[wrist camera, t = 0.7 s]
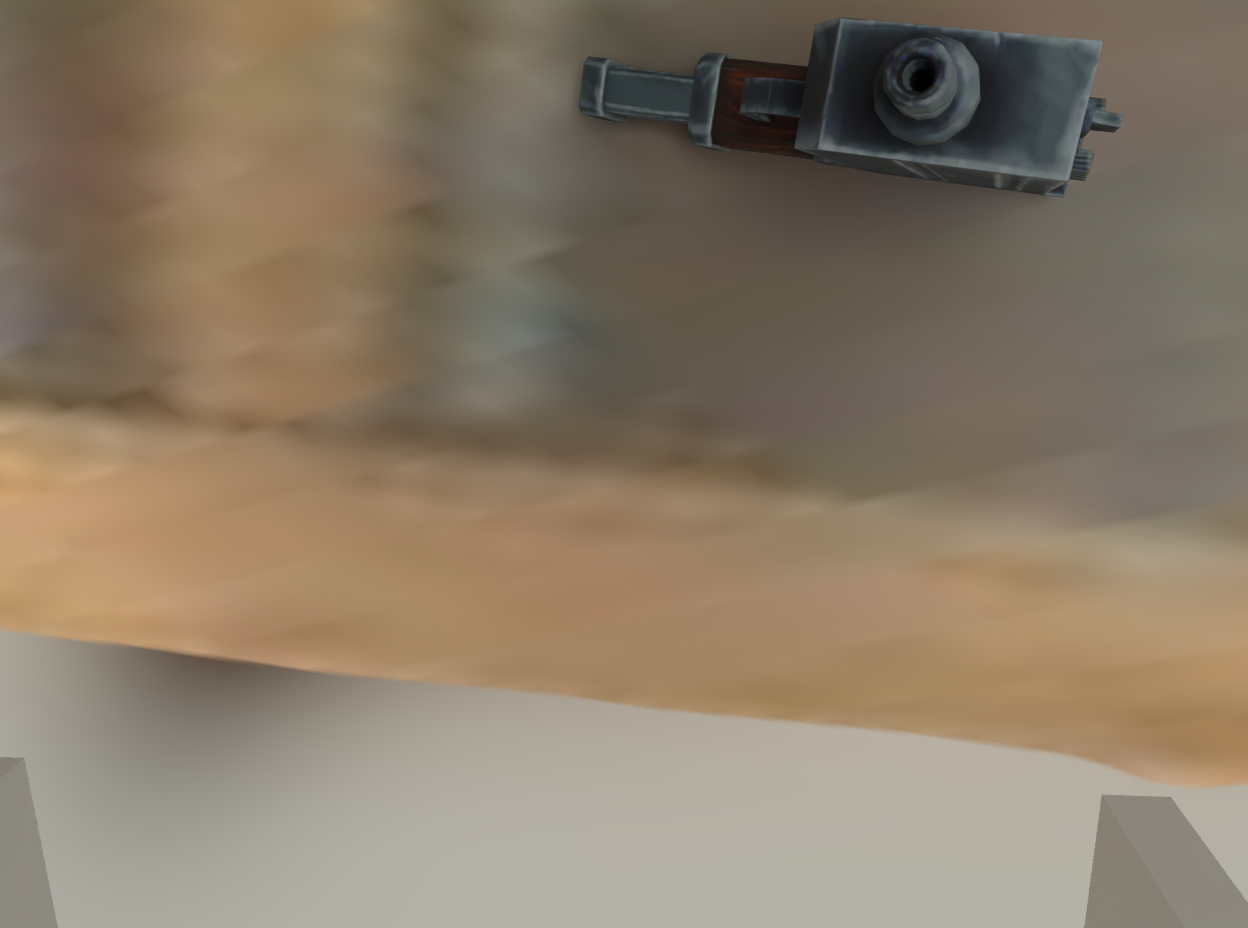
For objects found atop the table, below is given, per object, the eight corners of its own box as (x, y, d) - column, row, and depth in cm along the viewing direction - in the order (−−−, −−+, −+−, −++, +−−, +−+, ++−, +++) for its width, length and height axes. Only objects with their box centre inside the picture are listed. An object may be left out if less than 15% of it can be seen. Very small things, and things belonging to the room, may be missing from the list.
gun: (378, -53, 21) (1174, 11, 17) (640, 61, 36) (1090, 110, 32) (370, 85, 22) (1130, 179, 18) (630, 140, 37) (1069, 198, 33)
